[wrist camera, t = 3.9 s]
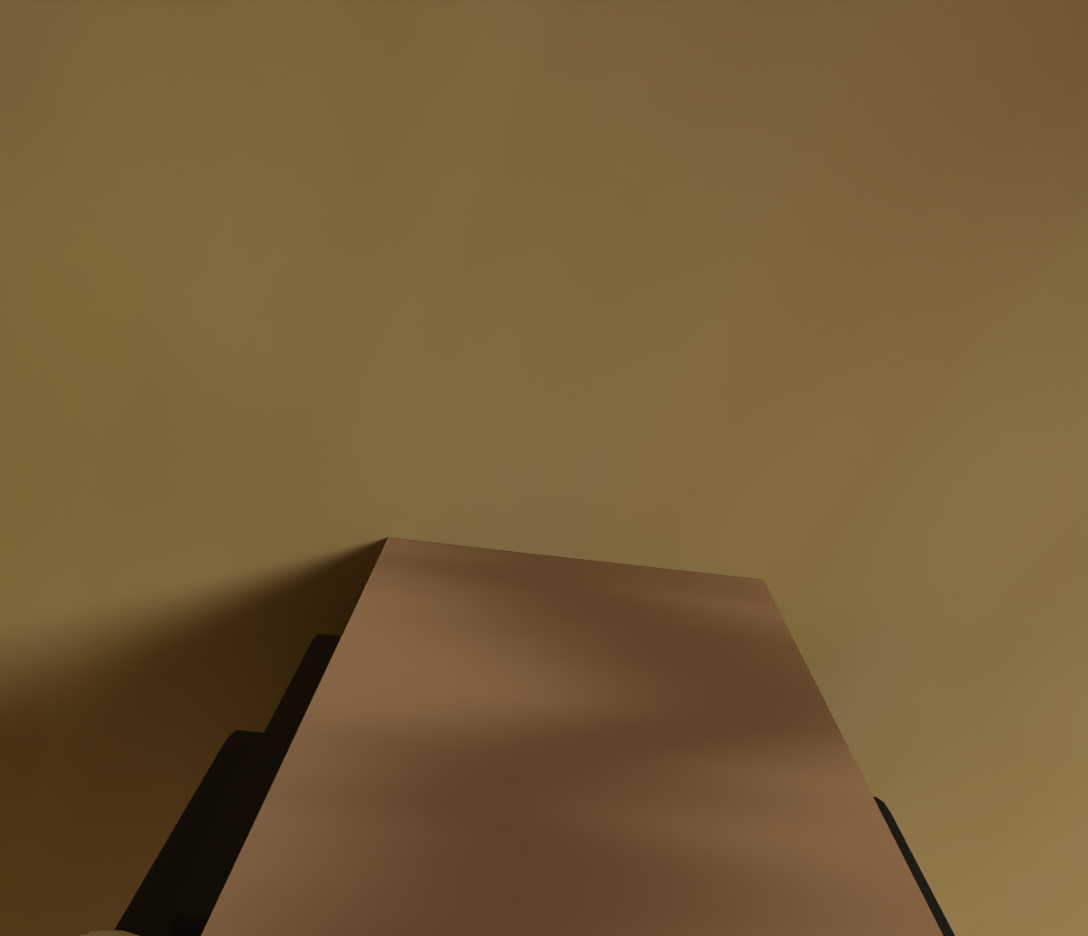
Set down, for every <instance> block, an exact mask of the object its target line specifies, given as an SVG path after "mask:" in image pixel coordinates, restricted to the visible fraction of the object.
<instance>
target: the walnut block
mask: <svg viewBox="0 0 1088 936" xmlns="http://www.w3.org/2000/svg"><path fill="white" fill-rule="evenodd" d="M201 936H943V934H942V932H941V930H940V928H939V926H938V924H937V922H936V920H935V918H934V916H933V914H932V912H931V910H930V908H929V906H928V904H927V902H926V900H925V898H924V897H923V895H922V893H921V891H920V889H919V887H918V885H917V883H916V881H915V879H914V877H913V875H912V873H911V871H910V869H909V867H908V865H907V863H906V861H905V859H904V857H903V855H902V853H901V851H900V849H899V847H898V845H897V843H896V841H895V839H894V837H893V835H892V833H891V831H890V829H889V827H888V825H887V823H886V821H885V819H884V817H883V816H882V814H881V812H880V810H879V808H878V806H877V804H876V802H875V800H874V798H873V796H872V794H871V792H870V790H869V788H868V786H867V784H866V782H865V780H864V778H863V776H862V774H861V772H860V770H859V768H858V766H857V764H856V762H855V760H854V758H853V756H852V754H851V752H850V750H849V748H848V746H847V744H846V742H845V740H844V738H843V736H842V735H841V733H840V731H839V729H838V727H837V725H836V723H835V721H834V719H833V717H832V715H831V713H830V711H829V709H828V707H827V705H826V703H825V701H824V699H823V697H822V695H821V693H820V691H819V689H818V687H817V685H816V683H815V681H814V679H813V677H812V675H811V673H810V671H809V669H808V667H807V665H806V663H805V661H804V659H803V657H802V656H801V654H800V652H799V650H798V648H797V646H796V644H795V642H794V640H793V638H792V636H791V634H790V632H789V630H788V628H787V626H786V624H785V622H784V620H783V618H782V616H781V614H780V612H779V610H778V608H777V606H776V604H775V602H774V600H773V598H772V596H771V594H770V592H769V590H768V588H767V586H766V584H765V582H764V580H758V579H749V578H740V577H732V576H723V575H714V574H705V573H696V572H687V571H678V570H669V569H660V568H652V567H643V566H634V565H625V564H616V563H607V562H598V561H589V560H581V559H572V558H563V557H554V556H545V555H536V554H527V553H518V552H510V551H501V550H492V549H483V548H474V547H465V546H456V545H447V544H438V543H430V542H421V541H412V540H403V539H394V538H388V539H387V541H386V543H385V545H384V548H383V550H382V552H381V554H380V556H379V558H378V560H377V562H376V565H375V567H374V569H373V571H372V573H371V575H370V577H369V579H368V582H367V584H366V586H365V588H364V590H363V592H362V594H361V596H360V599H359V601H358V603H357V605H356V607H355V609H354V611H353V614H352V616H351V618H350V620H349V622H348V624H347V626H346V628H345V631H344V633H343V635H342V637H341V639H340V641H339V643H338V645H337V648H336V650H335V652H334V654H333V656H332V658H331V660H330V662H329V665H328V667H327V669H326V671H325V673H324V675H323V677H322V679H321V682H320V684H319V686H318V688H317V690H316V692H315V694H314V696H313V699H312V701H311V703H310V705H309V707H308V709H307V711H306V713H305V716H304V718H303V720H302V722H301V724H300V726H299V728H298V731H297V733H296V735H295V737H294V739H293V741H292V743H291V745H290V748H289V750H288V752H287V754H286V756H285V758H284V760H283V762H282V765H281V767H280V769H279V771H278V773H277V775H276V777H275V779H274V782H273V784H272V786H271V788H270V790H269V792H268V794H267V796H266V799H265V801H264V803H263V805H262V807H261V809H260V811H259V813H258V816H257V818H256V820H255V822H254V824H253V826H252V828H251V830H250V833H249V835H248V837H247V839H246V841H245V843H244V845H243V848H242V850H241V852H240V854H239V856H238V858H237V860H236V862H235V865H234V867H233V869H232V871H231V873H230V875H229V877H228V879H227V882H226V884H225V886H224V888H223V890H222V892H221V894H220V896H219V899H218V901H217V903H216V905H215V907H214V909H213V911H212V913H211V916H210V918H209V920H208V922H207V924H206V926H205V928H204V930H203V933H202V935H201Z"/></svg>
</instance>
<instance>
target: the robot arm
mask: <svg viewBox="0 0 1088 936" xmlns="http://www.w3.org/2000/svg"><path fill="white" fill-rule="evenodd" d="M341 637H342V636H335V635H326V634H318V635H316V636H315V638H314V639H313V641H312V643H311V645H310V647H309V649H308V651H307V652H306V654H305V656H304V658H303V660H302V662H301V664H300V666H299V668H298V669H297V671H296V673H295V675H294V677H293V679H292V681H291V683H290V685H289V687H288V688H287V690H286V692H285V694H284V696H283V698H282V700H281V702H280V704H279V706H278V707H277V709H276V711H275V713H274V715H273V717H272V719H271V721H270V723H269V724H268V726H267V728H266V730H265V732H264V733H259V732H249V731H240V730H236V731H235V732H233V733H232V734H231V735H230V736H229V737H228V739H227V740H226V742H225V743H224V744H223V746H222V748H221V750H220V751H219V753H218V755H217V756H216V758H215V760H214V761H213V763H212V765H211V767H210V768H209V770H208V772H207V773H206V775H205V777H204V778H203V780H202V782H201V784H200V785H199V787H198V789H197V790H196V792H195V794H194V795H193V797H192V799H191V801H190V802H189V804H188V806H187V807H186V809H185V811H184V813H183V814H182V816H181V818H180V819H179V821H178V823H177V824H176V826H175V828H174V830H173V831H172V833H171V835H170V836H169V838H168V840H167V841H166V843H165V845H164V847H163V848H162V850H161V852H160V853H159V855H158V857H157V858H156V860H155V862H154V864H153V865H152V867H151V869H150V870H149V872H148V874H147V875H146V877H145V879H144V881H143V882H142V884H141V886H140V887H139V889H138V891H137V892H136V894H135V896H134V898H133V899H132V901H131V903H130V904H129V906H128V908H127V909H126V911H125V913H124V915H123V916H122V918H121V920H120V921H119V923H118V925H117V926H116V928H115V930H114V931H94V932H90V933H87V934H83V935H79V936H201V935H202V933H203V930H204V928H205V926H206V924H207V922H208V920H209V918H210V916H211V913H212V911H213V909H214V907H215V905H216V903H217V901H218V899H219V896H220V894H221V892H222V890H223V888H224V886H225V884H226V882H227V879H228V877H229V875H230V873H231V871H232V869H233V867H234V865H235V862H236V860H237V858H238V856H239V854H240V852H241V850H242V848H243V845H244V843H245V841H246V839H247V837H248V835H249V833H250V830H251V828H252V826H253V824H254V822H255V820H256V818H257V816H258V813H259V811H260V809H261V807H262V805H263V803H264V801H265V799H266V796H267V794H268V792H269V790H270V788H271V786H272V784H273V782H274V779H275V777H276V775H277V773H278V771H279V769H280V767H281V765H282V762H283V760H284V758H285V756H286V754H287V752H288V750H289V748H290V745H291V743H292V741H293V739H294V737H295V735H296V733H297V731H298V728H299V726H300V724H301V722H302V720H303V718H304V716H305V713H306V711H307V709H308V707H309V705H310V703H311V701H312V699H313V696H314V694H315V692H316V690H317V688H318V686H319V684H320V682H321V679H322V677H323V675H324V673H325V671H326V669H327V667H328V665H329V662H330V660H331V658H332V656H333V654H334V652H335V650H336V648H337V645H338V643H339V641H340V639H341ZM873 798H874V800H875V802H876V804H877V806H878V808H879V810H880V812H881V814H882V816H883V817H884V819H885V821H886V823H887V825H888V827H889V829H890V831H891V833H892V835H893V837H894V839H895V841H896V843H897V845H898V847H899V849H900V851H901V853H902V855H903V857H904V859H905V861H906V863H907V865H908V867H909V869H910V871H911V873H912V875H913V877H914V879H915V881H916V883H917V885H918V887H919V889H920V891H921V893H922V895H923V897H924V898H925V900H926V902H927V904H928V906H929V908H930V910H931V912H932V914H933V916H934V918H935V920H936V922H937V924H938V926H939V928H940V930H941V932H942V934H943V936H955V935H954V933H953V931H952V929H951V927H950V926H949V924H948V922H947V920H946V918H945V916H944V914H943V912H942V910H941V908H940V906H939V904H938V903H937V901H936V899H935V897H934V895H933V893H932V891H931V889H930V887H929V885H928V883H927V881H926V879H925V878H924V876H923V874H922V872H921V870H920V868H919V866H918V864H917V862H916V860H915V858H914V856H913V855H912V853H911V851H910V849H909V847H908V845H907V843H906V841H905V839H904V837H903V835H902V833H901V831H900V830H899V828H898V826H897V824H896V822H895V820H894V818H893V816H892V814H891V813H890V811H889V810H888V808H887V807H886V805H885V804H884V802H882V801H881V800H880V799H878V798H877V797H873Z"/></svg>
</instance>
